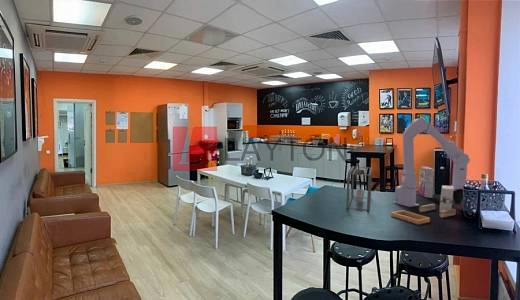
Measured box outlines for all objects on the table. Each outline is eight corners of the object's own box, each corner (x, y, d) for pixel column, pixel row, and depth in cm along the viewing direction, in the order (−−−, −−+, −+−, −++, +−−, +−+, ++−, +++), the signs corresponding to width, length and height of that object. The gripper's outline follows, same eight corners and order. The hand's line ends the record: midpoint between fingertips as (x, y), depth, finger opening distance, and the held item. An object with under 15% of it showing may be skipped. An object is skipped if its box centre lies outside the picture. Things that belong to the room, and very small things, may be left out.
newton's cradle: (369, 212, 145) (371, 174, 143) (345, 209, 149) (347, 173, 147) (370, 198, 173) (372, 166, 171) (351, 196, 177) (352, 165, 175)
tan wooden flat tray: (391, 216, 139) (391, 212, 139) (402, 213, 143) (402, 210, 143) (418, 224, 128) (418, 220, 128) (429, 222, 132) (430, 217, 132)
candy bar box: (417, 193, 187) (419, 166, 186) (426, 193, 186) (428, 166, 185) (423, 197, 176) (425, 169, 175) (433, 198, 175) (435, 169, 174)
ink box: (439, 208, 154) (441, 184, 153) (451, 209, 152) (453, 186, 151) (439, 212, 147) (440, 187, 146) (451, 214, 145) (453, 189, 144)
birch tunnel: (419, 211, 148) (419, 206, 148) (432, 208, 153) (433, 203, 153) (442, 217, 139) (442, 212, 138) (455, 214, 144) (456, 209, 144)
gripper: (460, 179, 146) (458, 207, 147) (476, 177, 153) (474, 204, 154) (444, 177, 152) (443, 204, 153) (460, 174, 159) (459, 201, 161)
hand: (457, 204), depth 154 cm, fingers closed
